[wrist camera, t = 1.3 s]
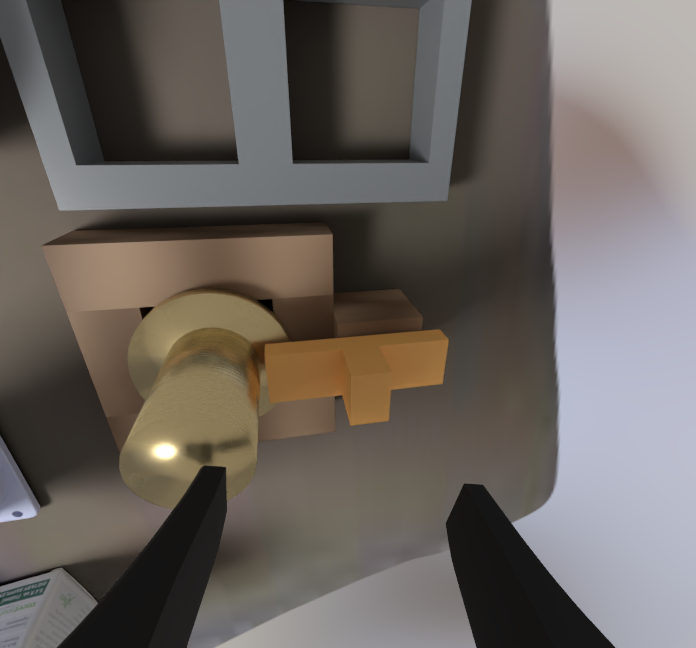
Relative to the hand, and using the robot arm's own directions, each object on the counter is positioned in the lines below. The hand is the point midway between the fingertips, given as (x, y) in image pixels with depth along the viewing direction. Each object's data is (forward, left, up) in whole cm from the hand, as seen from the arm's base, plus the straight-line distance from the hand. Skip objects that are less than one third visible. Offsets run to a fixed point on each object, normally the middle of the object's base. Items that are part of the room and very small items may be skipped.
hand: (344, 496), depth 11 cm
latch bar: (+2, +1, -7) cm, 7 cm away
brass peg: (-5, +1, -11) cm, 11 cm away
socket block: (-3, +1, -11) cm, 11 cm away
